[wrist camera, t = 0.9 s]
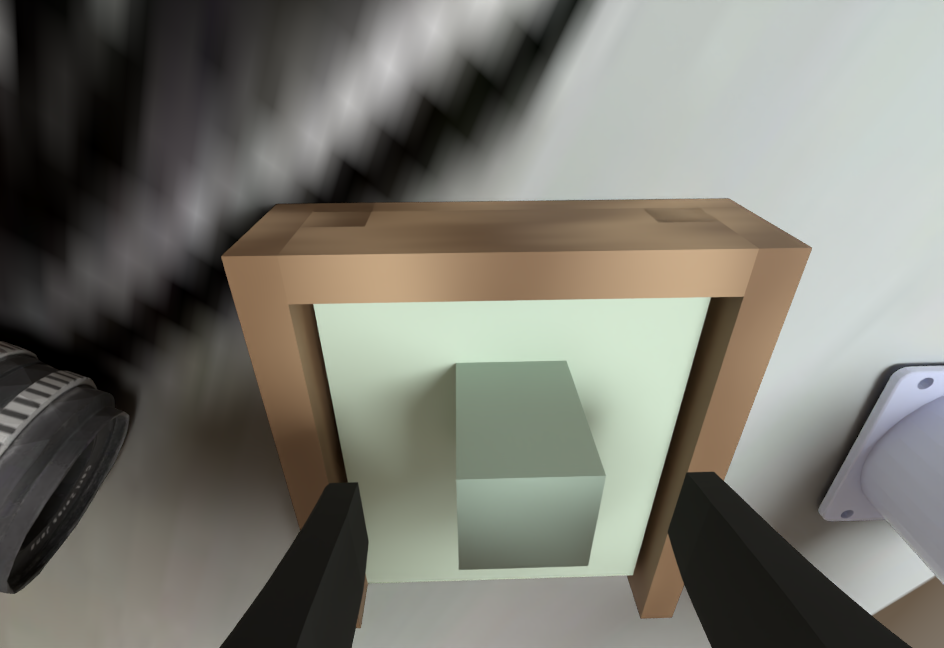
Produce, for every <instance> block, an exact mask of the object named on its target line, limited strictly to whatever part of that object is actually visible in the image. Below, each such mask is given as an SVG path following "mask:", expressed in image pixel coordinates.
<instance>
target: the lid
mask: <svg viewBox="0 0 944 648" xmlns="http://www.w3.org/2000/svg"><path fill="white" fill-rule="evenodd" d="M710 299H711V297H693V298H634V299H576V300H517V301H458V302H400V303H341V304H313V305H314V310H315V315H316V320H317V326H318V331H319V336H320V341H321V346H322V351H323V357H324V362H325V367H326V372H327V377H328V382H329V387H330V393H331V398H332V403H333V408H334V413H335V418H336V423H337V429H338V434H339V439H340V444H341V449H342V454H343V459H344V465H345V470H346V475H347V480H348V482H358V485H359V490H360V496H361V501H362V507H363V513H364V518H365V524H366V529H367V535H368V540H369V544H368V554H367V564H366V578H367V583H368V584H369V583H401V582H433V581H465V580H497V579H529V578H561V577H593V576H625V575H633V573H634V569H635V566H636V562H637V558H638V555H639V551H640V548H641V544H642V541H643V537H644V534H645V530H646V526H647V523H648V519H649V516H650V512H651V509H652V505H653V502H654V498H655V495H656V491H657V487H658V484H659V480H660V477H661V473H662V470H663V466H664V463H665V459H666V455H667V452H668V448H669V445H670V441H671V438H672V434H673V431H674V427H675V424H676V420H677V416H678V413H679V409H680V406H681V402H682V399H683V395H684V392H685V388H686V384H687V381H688V377H689V374H690V370H691V367H692V363H693V360H694V356H695V353H696V349H697V345H698V342H699V338H700V335H701V331H702V328H703V324H704V321H705V317H706V314H707V310H708V306H709V303H710Z"/></svg>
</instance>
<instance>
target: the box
mask: <svg viewBox="0 0 944 648" xmlns="http://www.w3.org/2000/svg"><path fill="white" fill-rule="evenodd" d="M811 250H812V247H810V246H808V245H807V244H805V243H803V242H802V241H800V240H798V239H796V238H795V237H793V236H791V235H790V234H788V233H786V232H785V231H783V230H781V229H780V228H778V227H776V226H775V225H773V224H771V223H769V222H768V221H766V220H764V219H763V218H761V217H759V216H758V215H756V214H754V213H753V212H751V211H749V210H747V209H746V208H744V207H742V206H741V205H739V204H737V203H736V202H734V201H732V200H731V199H655V200H571V201H488V202H404V203H321V204H276V205H275V206H274V207H273V208H272V209H271V210H270V211H269V212H268V213H267V214H266V215H265V216H264V217H262V218H261V219H260V220H259V221H258V222H257V223H256V224H255V225H254V226H253V227H252V228H251V229H250V230H249V231H248V232H247V233H245V234H244V235H243V236H242V237H241V238H240V239H239V240H238V241H237V242H236V243H235V244H234V245H233V246H232V247H231V248H230V249H229V250H227V251H226V252H225V253H224V254H223V255H222V256H221V258H222V261H223V265H224V268H225V272H226V275H227V279H228V282H229V286H230V289H231V292H232V296H233V299H234V303H235V306H236V310H237V313H238V317H239V320H240V324H241V327H242V331H243V334H244V338H245V341H246V344H247V348H248V351H249V355H250V358H251V362H252V365H253V369H254V372H255V376H256V379H257V383H258V386H259V389H260V393H261V396H262V400H263V403H264V407H265V410H266V414H267V417H268V421H269V424H270V428H271V431H272V435H273V438H274V441H275V445H276V448H277V452H278V455H279V459H280V462H281V466H282V469H283V473H284V476H285V480H286V483H287V486H288V490H289V493H290V497H291V500H292V504H293V507H294V511H295V514H296V518H297V521H298V525H299V528H300V530H301V529H302V527H303V525H304V524H305V522H306V520H307V519H308V517H309V515H310V514H311V512H312V510H313V508H314V507H315V505H316V503H317V501H318V500H319V498H320V496H321V494H322V492H323V490H324V488H325V487H326V486H327V485H328V484H329V483H348V480H347V475H346V470H345V465H344V459H343V454H342V449H341V444H340V439H339V434H338V429H337V423H336V418H335V413H334V408H333V403H332V398H331V393H330V387H329V382H328V377H327V372H326V367H325V362H324V357H323V351H322V346H321V341H320V336H319V331H318V326H317V320H316V315H315V310H314V305H313V304H341V303H400V302H458V301H517V300H576V299H634V298H693V297H711V299H710V303H709V306H708V310H707V314H706V317H705V321H704V324H703V328H702V331H701V335H700V338H699V342H698V345H697V349H696V353H695V356H694V360H693V363H692V367H691V370H690V374H689V377H688V381H687V384H686V388H685V392H684V395H683V399H682V402H681V406H680V409H679V413H678V416H677V420H676V424H675V427H674V431H673V434H672V438H671V441H670V445H669V448H668V452H667V455H666V459H665V463H664V466H663V470H662V473H661V477H660V480H659V484H658V487H657V491H656V495H655V498H654V502H653V505H652V509H651V512H650V516H649V519H648V523H647V526H646V530H645V534H644V537H643V541H642V544H641V548H640V551H639V555H638V558H637V562H636V566H635V569H634V573H633V575H627V577H628V581H629V584H630V587H631V590H632V593H633V596H634V599H635V602H636V606H637V609H638V612H639V615H640V618H671V617H672V616H673V613H674V610H675V608H676V605H677V602H678V600H679V597H680V595H681V592H682V589H683V587H684V583H683V580H682V577H681V574H680V571H679V568H678V565H677V562H676V559H675V556H674V552H673V549H672V546H671V542H670V539H669V536H668V528H669V525H670V522H671V519H672V516H673V513H674V510H675V507H676V503H677V500H678V497H679V494H680V491H681V488H682V485H683V482H684V478H685V475H686V472H715V473H716V474H717V475H718V476H719V477H720V478H721V479H722V480H723V481H724V479H725V476H726V474H727V471H728V468H729V466H730V463H731V460H732V458H733V455H734V452H735V450H736V447H737V445H738V442H739V439H740V437H741V434H742V431H743V429H744V426H745V424H746V421H747V418H748V416H749V413H750V410H751V408H752V405H753V402H754V400H755V397H756V395H757V392H758V389H759V387H760V384H761V381H762V379H763V376H764V374H765V371H766V368H767V366H768V363H769V360H770V358H771V355H772V352H773V350H774V347H775V345H776V342H777V339H778V337H779V334H780V331H781V329H782V326H783V324H784V321H785V318H786V316H787V313H788V310H789V308H790V305H791V303H792V300H793V297H794V295H795V292H796V289H797V287H798V284H799V281H800V279H801V276H802V274H803V271H804V268H805V266H806V263H807V260H808V258H809V255H810V253H811ZM367 586H368V583H367V578H366V573H365V581H364V590H363V595H362V600H361V605H360V610H359V615H358V619H357V624H356V628H361V624H362V617H363V611H364V605H365V598H366V592H367Z"/></svg>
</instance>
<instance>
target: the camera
mask: <svg viewBox="0 0 944 648" xmlns="http://www.w3.org/2000/svg"><path fill="white" fill-rule="evenodd" d="M128 425H129V415H128V414H127V413H125V412H124V411H121V410H118V409H115V401H114V397H113V396H112V394H110V393H107V392H104V391H100V390H97V387H96V386H95V384H94V382H93V380H92V379H90V378H88V377H85V376H82V375H79V374H76V373H73V372H70V371H60V370H58V369H56V368H54V367H52V366H49V365H47V364H46V363H44V362H42V361H40V360H38V357H37V356H36V354H34V353H32V352H30V351H29V350H26V349H23V348H20V347H17V346H15V345H12V344H9V343H6V342H3V341H0V592H3V593H10V594H15V593H17V592H18V591H20V590H22V589H23V588H24V587H25V586H26V585H28V584H29V583H30V582H31V581H32V580H33V579H34V578H35V577H36V576H38V575H39V574H40V572H41V571H42V569H43V568H44V567H45V565H46V564H47V563H48V561H49V560H50V559H51V558H52V557H53V555H54V554H55V553H56V552H57V550H58V549H59V548H60V546H61V545H62V544H63V542H64V541H65V540H66V539H67V537H68V536H69V535H70V533H71V532H72V531H73V529H74V528H75V527H76V525H77V524H78V522H79V521H80V519H81V518H82V516H83V514H84V513H85V511H86V510H87V508H88V506H89V505H90V503H91V502H92V500H93V498H94V496H95V495H96V493H97V491H98V489H99V488H100V486H101V484H102V483H103V481H104V479H105V478H106V476H107V474H108V473H109V471H110V470H111V468H112V466H113V465H114V463H115V461H116V458H117V456H118V453H119V451H120V449H121V446H122V444H123V442H124V439H125V437H126V434H127V430H128Z"/></svg>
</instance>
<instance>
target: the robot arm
mask: <svg viewBox="0 0 944 648" xmlns="http://www.w3.org/2000/svg"><path fill="white" fill-rule="evenodd" d="M818 511H819V513H820V515H821V516H822V517H823V519H825V520H826V521H860V520H886V521H887V522H888V523H889V524H890V525H891V526H892V527H893V528H894V530H895V531H896V532H897V533H898V534H899V535H900V536H901V537H902V539H903V540H904V541H905V542H906V543H907V544H908V545H909V546H910V548H911V549H912V550H913V551H914V552H915V553H916V554H917V555H918V557H919V558H920V559H921V560H922V561H923V562H924V563H925V564H926V566H927V567H928V568H929V569H930V570H931V571H932V572H933V573H934V574H935V576H936V577H937V578H938V579H939V580H940V581H941V582H942V583H943V585H944V366H910V367H904V368H901V369H899V370H897V371H896V372H895V373H893V375H892V376H891V377H890V379H889V381H888V383H887V384H886V386H885V388H884V390H883V392H882V393H881V395H880V397H879V399H878V401H877V403H876V404H875V406H874V408H873V410H872V412H871V414H870V415H869V417H868V419H867V421H866V423H865V425H864V426H863V428H862V430H861V432H860V434H859V435H858V437H857V439H856V441H855V443H854V445H853V446H852V448H851V450H850V452H849V454H848V456H847V457H846V459H845V461H844V463H843V465H842V466H841V468H840V470H839V472H838V474H837V476H836V477H835V479H834V481H833V483H832V485H831V487H830V488H829V490H828V492H827V494H826V496H825V498H824V499H823V501H822V503H821V505H820V507H819V510H818ZM668 536H669V539H670V542H671V546H672V549H673V552H674V556H675V559H676V562H677V565H678V568H679V571H680V574H681V577H682V580H683V583H684V585H685V587H686V590H687V592H688V594H689V597H690V599H691V601H692V604H693V606H694V608H695V610H696V613H697V615H698V617H699V620H700V622H701V624H702V626H703V629H704V631H705V633H706V635H707V638H708V640H709V642H710V644H711V647H712V648H912V647H911V646H909V645H908V644H907V643H905V642H904V641H902V640H901V639H900V638H899V637H898V636H896V635H895V634H894V633H892V632H891V631H890V630H888V629H887V628H886V627H885V626H884V625H882V624H881V623H880V622H879V621H877V620H876V619H875V618H874V617H873V616H871V615H870V614H869V613H868V612H867V611H865V610H864V609H863V608H862V607H861V606H859V605H858V604H857V603H856V602H855V601H854V600H852V599H851V598H850V597H849V596H848V595H846V594H845V593H844V592H843V591H842V590H841V589H839V588H838V587H837V586H836V585H835V584H834V583H832V582H831V581H830V580H829V579H828V578H827V577H826V576H824V575H823V574H822V573H821V572H820V571H819V570H818V569H817V568H815V567H814V566H813V565H812V564H811V563H810V562H809V561H808V560H807V559H805V558H804V557H803V556H802V555H801V554H800V553H799V552H798V551H797V550H796V549H795V548H793V547H792V546H791V545H790V544H789V543H788V542H787V541H786V540H785V539H784V538H783V537H782V536H781V535H780V534H778V533H777V532H776V531H775V530H774V529H773V528H772V527H771V526H770V525H769V524H768V523H767V522H766V521H765V520H764V519H763V518H762V517H761V516H760V515H759V514H757V513H756V512H755V511H754V510H753V509H752V508H751V507H750V506H749V505H748V504H747V503H746V502H745V501H744V500H743V499H742V498H741V497H740V496H739V495H738V494H737V493H736V492H735V491H734V490H733V489H732V488H731V487H730V486H729V485H727V484H726V483H725V482H724V481H723V480H722V479H721V478H720V477H719V476H718V475H717V474H716V473H715V472H686V475H685V478H684V482H683V485H682V488H681V491H680V494H679V497H678V500H677V503H676V507H675V510H674V513H673V516H672V519H671V522H670V525H669V528H668ZM368 544H369V540H368V535H367V529H366V524H365V518H364V513H363V507H362V501H361V496H360V490H359V485H358V482H348V483H329V484H328V485H327V486H326V487H325V488H324V490H323V492H322V494H321V496H320V498H319V500H318V501H317V503H316V505H315V507H314V508H313V510H312V512H311V514H310V515H309V517H308V519H307V520H306V522H305V524H304V525H303V527H302V529H301V530H300V532H299V534H298V535H297V537H296V539H295V540H294V542H293V543H292V545H291V547H290V548H289V550H288V551H287V553H286V554H285V556H284V557H283V559H282V560H281V562H280V563H279V565H278V566H277V568H276V570H275V571H274V573H273V574H272V576H271V577H270V579H269V580H268V582H267V583H266V585H265V586H264V588H263V589H262V590H261V592H260V593H259V595H258V596H257V597H256V599H255V600H254V602H253V603H252V604H251V606H250V607H249V608H248V610H247V611H246V613H245V614H244V615H243V617H242V618H241V620H240V621H239V622H238V624H237V625H236V627H235V628H234V629H233V631H232V632H231V633H230V635H229V636H228V637H227V639H226V640H225V641H224V642H223V644H222V645H221V646H220V648H352V643H353V638H354V634H355V629H356V624H357V619H358V615H359V610H360V605H361V600H362V595H363V590H364V581H365V573H366V564H367V554H368Z"/></svg>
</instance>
